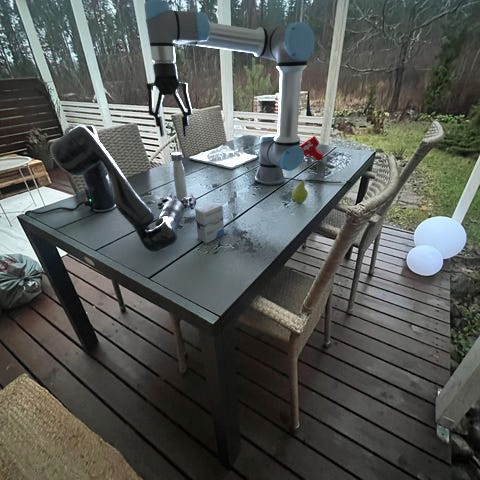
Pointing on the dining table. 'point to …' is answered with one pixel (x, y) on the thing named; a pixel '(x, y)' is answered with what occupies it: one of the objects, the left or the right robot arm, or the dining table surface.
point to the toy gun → (311, 148)
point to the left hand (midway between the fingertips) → (180, 195)
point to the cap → (176, 156)
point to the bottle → (179, 180)
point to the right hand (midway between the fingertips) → (173, 135)
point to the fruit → (300, 192)
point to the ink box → (209, 221)
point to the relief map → (224, 157)
